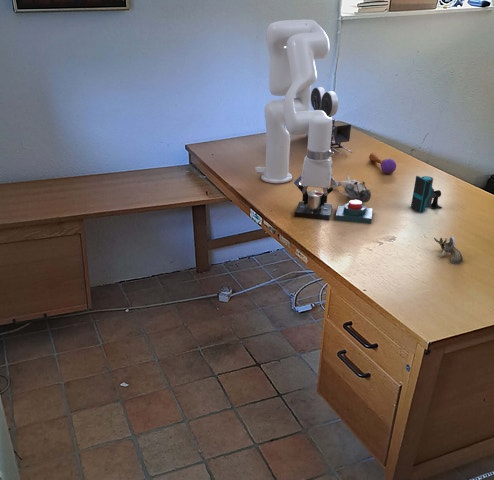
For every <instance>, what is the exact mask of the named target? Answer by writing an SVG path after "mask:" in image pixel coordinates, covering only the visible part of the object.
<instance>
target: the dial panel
mask: <svg viewBox="0 0 494 480" xmlns="http://www.w3.org/2000/svg"><path fill="white" fill-rule="evenodd" d="M333 205H334V204H332V203H325V204H324V206H322V209H321V210H319V211H310V210H308V209H306V204H305V205H304V201H298V203H297V206H296V209H295V211H294V218H297V219H298V218H300V219H309V220H320V221H330V220H331V219H330V218H331V215H332V211H333Z"/></svg>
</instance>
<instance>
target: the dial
mask: <svg viewBox="0 0 494 480" xmlns="http://www.w3.org/2000/svg"><path fill="white" fill-rule="evenodd" d="M323 194H324V192H322V191H320V190H308V191H307V201H306V209H308V210H310V211H319V210H321V209H322V198H323Z"/></svg>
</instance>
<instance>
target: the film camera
mask: <svg viewBox="0 0 494 480" xmlns="http://www.w3.org/2000/svg"><path fill="white" fill-rule="evenodd" d="M310 105H311V106H312V109H313V110H322V111H324V112H325V113H326V115H327V116H328V117H330V118H331V119H332V134H331V145H330V150H333V151H334V152H335V151H336V152H337V153H338V154H341V155H344V152H342V151H340V150H338V149H344V150H346V151H347V152H349V153H351V154H353V153H354V151H352V150H351V149H348V148H346V147H345V146H344V145H343V144H342V143H348V142H350V139H351V129H352V125H351V124H343V125H335V124H336V119H335V118H334V116H335V115H336V114H337V112H338V109H339V99H338V95H337V93H336V92H335V91H334V90H330V91H329V90H328V91H326V89H325V88H324V87H323V86H318V87H314V88H313V89H311V98H310ZM305 137H306V138H307V139H308V134H305Z"/></svg>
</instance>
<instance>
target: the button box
mask: <svg viewBox="0 0 494 480" xmlns="http://www.w3.org/2000/svg"><path fill="white" fill-rule="evenodd" d="M348 206H349V202H347V203H345V204H344V205H339V204H338V205H337V208H336V212H335V217H334V218H335V219H334V221H337V222H346V223H347V222H348V223H356V224H367V225H371V224H372V218H373V210H374V209H373V208H372V207H371V208H370V207H367V206H366V205H365V204H364V203H362V208H361V209H357V210H356V209H351V208H349V207H348Z"/></svg>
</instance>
